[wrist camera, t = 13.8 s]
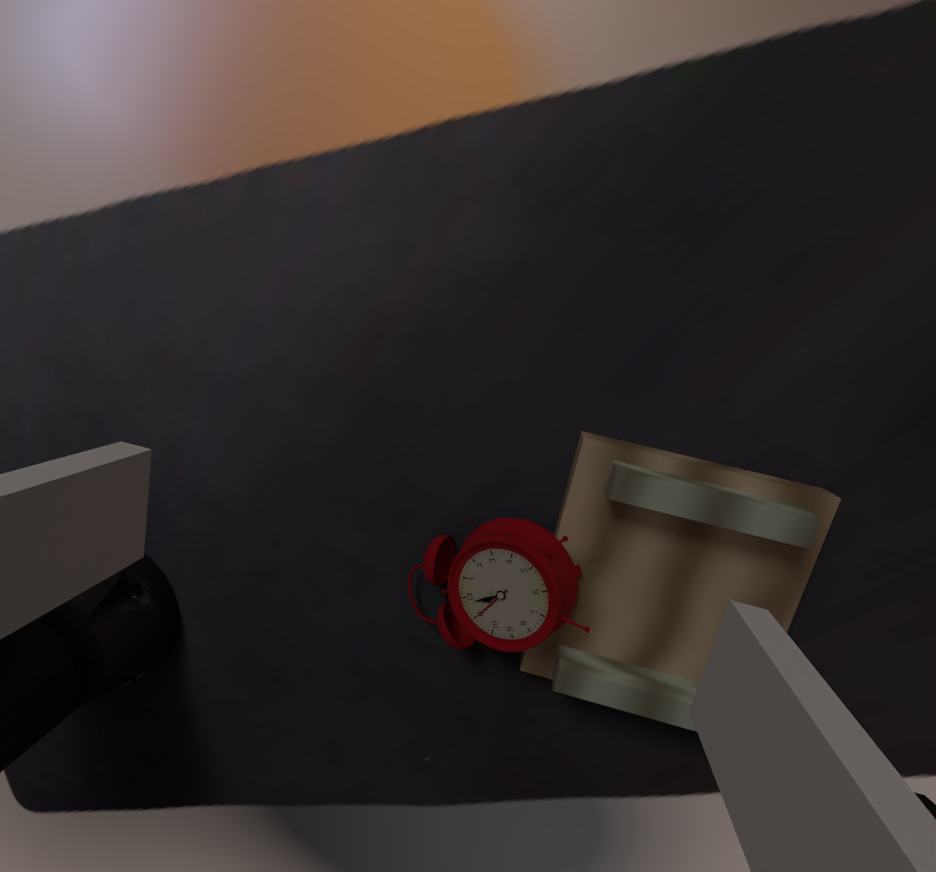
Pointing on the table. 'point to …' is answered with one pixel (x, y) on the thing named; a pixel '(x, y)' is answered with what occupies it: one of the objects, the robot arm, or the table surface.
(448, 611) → the alarm clock
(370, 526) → the table surface
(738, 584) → the display stand
